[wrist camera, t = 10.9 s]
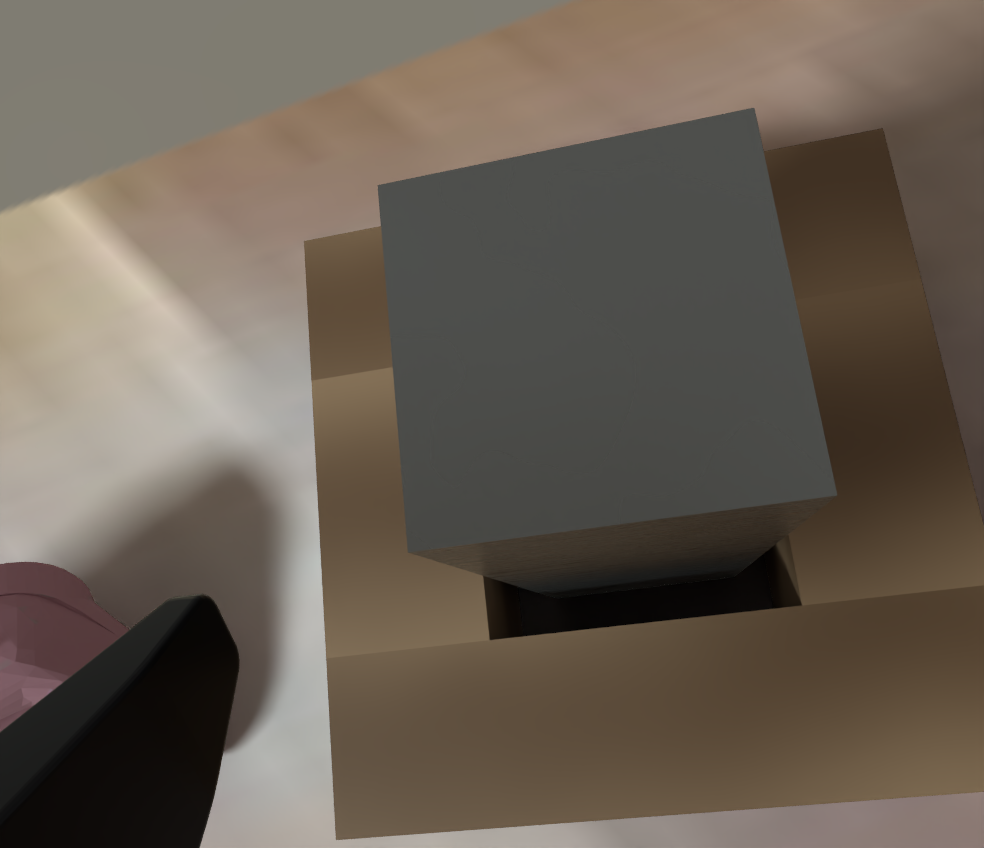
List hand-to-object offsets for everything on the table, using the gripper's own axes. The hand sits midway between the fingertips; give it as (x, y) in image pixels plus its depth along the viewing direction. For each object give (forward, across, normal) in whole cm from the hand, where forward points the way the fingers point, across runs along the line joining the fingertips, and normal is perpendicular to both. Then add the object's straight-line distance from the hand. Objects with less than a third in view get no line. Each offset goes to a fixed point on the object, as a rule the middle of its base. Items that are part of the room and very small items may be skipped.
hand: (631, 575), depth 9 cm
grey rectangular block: (+10, 0, +6) cm, 12 cm away
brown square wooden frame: (+10, 0, +6) cm, 11 cm away
